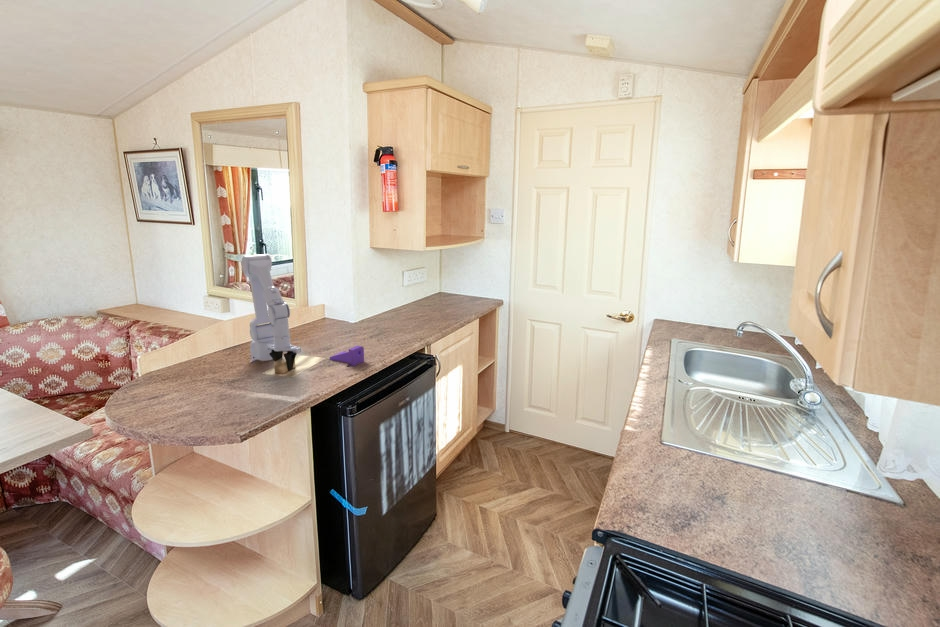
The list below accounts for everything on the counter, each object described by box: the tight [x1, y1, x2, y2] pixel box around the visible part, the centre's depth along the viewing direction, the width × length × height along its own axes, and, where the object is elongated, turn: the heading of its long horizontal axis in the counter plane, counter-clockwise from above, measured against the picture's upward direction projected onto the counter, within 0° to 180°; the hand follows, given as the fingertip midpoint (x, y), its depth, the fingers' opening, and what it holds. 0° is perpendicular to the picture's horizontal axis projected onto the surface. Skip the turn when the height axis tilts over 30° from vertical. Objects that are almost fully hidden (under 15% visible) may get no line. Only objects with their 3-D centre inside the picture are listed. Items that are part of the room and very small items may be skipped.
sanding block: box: [273, 356, 296, 374], centre depth 184 cm, size 4×7×4 cm, turn 164°
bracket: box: [329, 345, 365, 367], centre depth 196 cm, size 12×7×7 cm, turn 64°
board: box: [261, 354, 326, 378], centre depth 190 cm, size 14×22×1 cm, turn 164°
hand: (285, 369), depth 184 cm, fingers closed on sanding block, 4 cm apart
